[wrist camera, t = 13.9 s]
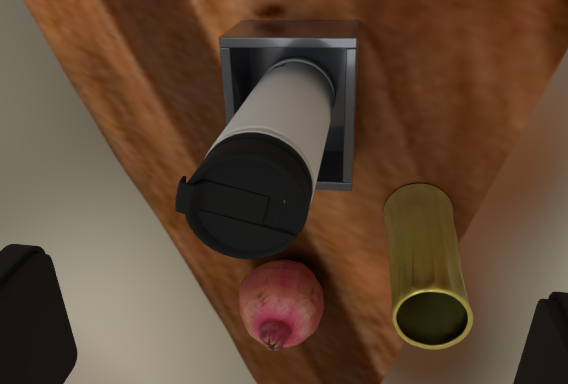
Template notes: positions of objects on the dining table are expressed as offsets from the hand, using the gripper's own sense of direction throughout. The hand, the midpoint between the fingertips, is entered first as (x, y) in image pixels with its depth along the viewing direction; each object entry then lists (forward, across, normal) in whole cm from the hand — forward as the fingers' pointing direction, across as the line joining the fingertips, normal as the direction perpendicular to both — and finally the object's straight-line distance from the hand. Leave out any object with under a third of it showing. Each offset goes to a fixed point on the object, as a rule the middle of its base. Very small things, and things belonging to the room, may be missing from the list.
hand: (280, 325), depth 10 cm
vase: (+34, -7, +17) cm, 39 cm away
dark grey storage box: (+34, +4, +6) cm, 35 cm away
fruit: (+34, +5, +25) cm, 43 cm away
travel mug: (+34, +4, +6) cm, 34 cm away
